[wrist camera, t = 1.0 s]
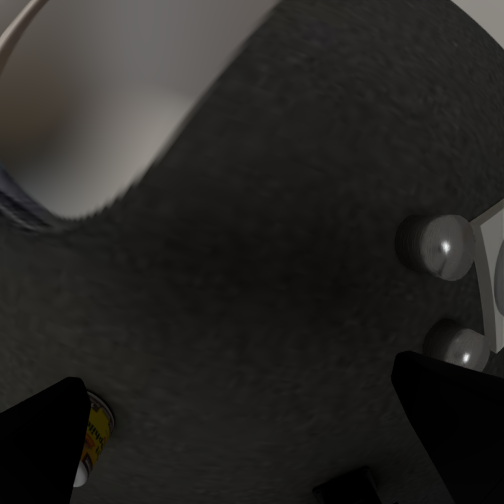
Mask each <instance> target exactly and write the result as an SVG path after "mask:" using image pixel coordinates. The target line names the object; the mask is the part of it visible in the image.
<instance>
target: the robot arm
mask: <svg viewBox="0 0 504 504" xmlns="http://www.w3.org/2000/svg"><path fill="white" fill-rule="evenodd" d="M391 381H392V384H393V386H394V388H395V391H396V393H397V395H398V397H399V399H400V402H401V404H402V406H403V408H404V411H405V413H406V415H407V417H408V419H409V421H410V423H411V425H412V427H413V428H414V430H415V432H416V434H417V435H418V437H419V439H420V440H421V442H422V444H423V446H424V447H425V449H426V451H427V453H428V455H429V456H430V458H431V460H432V462H433V463H434V465H435V467H436V469H437V471H438V472H439V474H440V476H441V478H442V480H443V482H444V484H445V485H446V487H447V489H448V491H449V493H450V495H451V497H452V499H453V501H454V502H455V504H504V378H501V377H497V376H494V375H490V374H486V373H483V372H479V371H476V370H472V369H469V368H465V367H462V366H459V365H455V364H452V363H448V362H445V361H442V360H439V359H435V358H432V357H429V356H426V355H422V354H419V353H416V352H413V351H404V352H401V353H398V354H397V355H396V357H395V361H394V366H393V371H392V375H391ZM90 411H91V400H90V398H89V395H88V393H87V390H86V387H85V385H84V382H83V381H82V379H81V378H77V377H67V378H65V379H63V380H61V381H60V382H58V383H56V384H54V385H52V386H50V387H48V388H47V389H45V390H43V391H41V392H39V393H37V394H36V395H34V396H32V397H30V398H28V399H26V400H24V401H22V402H21V403H19V404H17V405H15V406H13V407H11V408H9V409H7V410H5V411H4V412H2V413H0V504H69V503H70V498H71V494H72V490H73V486H74V482H75V478H76V474H77V470H78V467H79V463H80V459H81V456H82V452H83V448H84V443H85V437H86V432H87V426H88V421H89V416H90ZM377 491H378V490H377V487H376V484H375V482H374V479H373V477H372V474H371V471H370V469H369V467H367V466H366V467H363V468H361V469H359V470H357V471H355V472H352V473H350V474H348V475H346V476H344V477H341V478H339V479H337V480H334V481H332V482H330V483H327V484H325V485H322V486H320V487H317V488H315V489H313V494H314V495H315V497H316V498H317V499H318V501H319V502H320V503H321V504H382V503H381V501H380V499H379V497H378V495H377V493H376V492H377ZM394 504H398V502H396V503H394Z"/></svg>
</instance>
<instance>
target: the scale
mask: <svg viewBox="0 0 504 504" xmlns="http://www.w3.org/2000/svg"><path fill="white" fill-rule="evenodd" d="M469 224H470V225H471V227H472V229H473V231H474V235H475V241H476V250H475V256H474V262H475V267H476V272H477V278H478V284H479V290H480V297H481V305H482V313H483V323H484V335H485V337H486V338H487V339H488V340H489V342H490V350H491V351H493V352H495V353H498V352H499V351H500V350H501V349H502V348H503V347H504V199H502V200H501V201H499V202H498V203H497V204H495V205H494V206H492V207H491V208H490V209H488V210H487V211H485V212H484V213H483V214H481V215H480V216H478V217H477V218H475V219H474V220H472V221H471V222H469Z"/></svg>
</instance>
